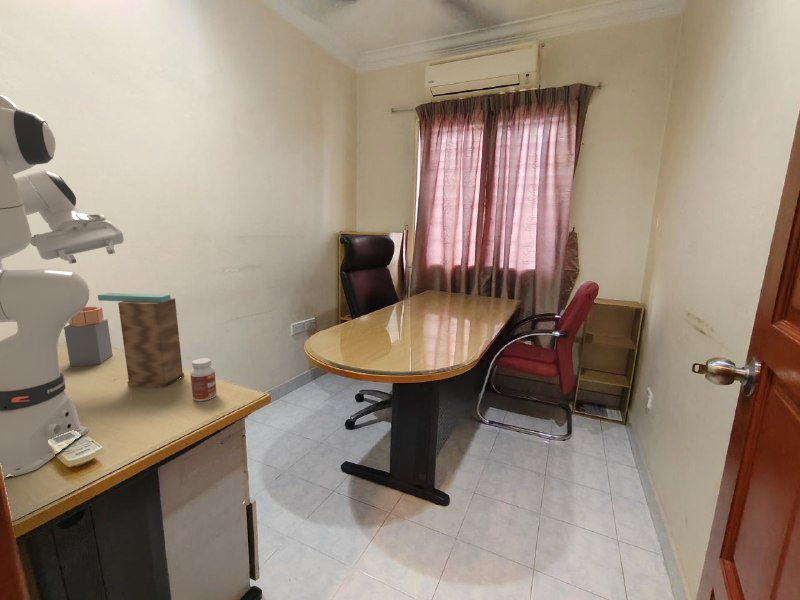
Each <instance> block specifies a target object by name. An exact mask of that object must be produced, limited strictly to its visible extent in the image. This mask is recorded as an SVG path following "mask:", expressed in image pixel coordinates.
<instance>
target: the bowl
mask: <svg viewBox="0 0 800 600" xmlns="http://www.w3.org/2000/svg"><path fill="white" fill-rule="evenodd" d="M103 320H104V314H103V307H102V306H101V307H100V306H85V307H84V309H83V310H82V311H81V312H79V313H78V314H76V315H75V316H74V317H73V318H71V319H70V320H69V321H68V322H67V324H68V323H69V325H70V326H74V327H80V326H90V325H95V324H99V323H102V322H103Z"/></svg>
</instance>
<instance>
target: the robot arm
mask: <svg viewBox="0 0 800 600" xmlns="http://www.w3.org/2000/svg"><path fill="white" fill-rule="evenodd" d="M56 146H57V145H56V140H55V136H54V133H53V132H52V129H51V128H50V126H49V125H48V123H47V121H46V120H44V119H43V118H42V117H40V116H39V115H38V114H36V113H34V112H30V111H27V110H24V109H20V108H19V107H18V106H17V105H16V104H15V103H14V102H13V101H12V100H11V99H9V98H8V97H6V96H4V95H2V94H1V93H0V323H9V322H13V323H16V325H17V332H16V333H14V334H12V335H9V336H8V337H5V338H4V339H1V340H0V463H1V465H2V472H3V476H4V479H7V478H6V476H7V475H8V474H11V475H15V476H14V477H17V476H20V475H24V474H27V473H31V472H33V471H36V470H38V469H40V468H41V467H42V466H44V465H45V464H46V463H48V462H49V461H50V460H52V459H53V458H54V457H56V456H55V452H54V450H53V449H52V447H51V446H50V445H49V444H48V440H49V439H52V438H54V437H56V436H59V435H61V434H64V433H66V432H69V431H72V430H74V431H77V432H79V434H81V435H83V436H85V435H86V434H87V433H88V427H86V426H84V425H81V424H82V423H81V420H80V418H79V414H78V411H77V407H76V404H75V401H74V400H73V399H72V398H71V397H70V396H69V395H68V394H67V393H66V391H65V390H66V389H67V388H66V379H65V378H64V374H63V373H62V372H61V369H60V368H61V367H60V363H59V352H58V351H59V350H58V349H59V348H58V346H59V345H58V344H59V338H60V335H61V333H62V330H64V327H65V326H67V324H68V321H69V320H70V319H71V318H73V317H74V316H75V315H76V314H78V313H79V312H81V311H82V310H83V309H84V307H87V304H88V301H89V299H90V289H89V287H88V284H87V282H86V281H85V279H84V278H83V277H82V276H80V275H79V274H78V273H76V272H74V271H69V270H60V269H49V268H46V269H45V268H42V269H41V268H40V269H39V268H38V269H5V268H4V267H3V264H2V260H3V259H6V258H8V257H11V256H14V255H15V254H18V253H20V252H22V251H24V250H25V249H27V247H28V246H29V245H30V244H31V246H33V247H35V248H36V249H37V252H38V254H39V256H40V257H41V259H43V260H46V261H49V260H53V259H58V258H60V259H61V260H64V261H68V263H69V264H70V265H72V264H76V263H77V259H76V257H75V256H74V255H76V254H79V253H85V252H90V251H93V250H96V249H97V250H98V249H102V248H105V249H106V253H107V254H108V255H109V256H110V255H114V254H116V251H115V249H114V248H115V247H114V246H115V245H120V244H123V242H124V234H123V232H122V230H120V228H119V227H118V226H117V225H115V224H114V223H113V222H112V221H109V220H107V219H106V216H105V215H104V214H100V213H99V214H93V213H92V214H90V213H89V214H87V213H80V212H79V209H78V207H76V205H77V197H76V194H75V193H74V191H73V190H72V189H71V188H70V187H69V186H68V185H67V183H66V182H65V181H64V179H63V178H62V177H61V176H60V175H59V174H56V173H55V172H52V171H48V170H40V171H37V172H34V173H29V174H25V175H22V176H19V177H15V176H14V175H16V174H18V173H22V172H24V171H27V170H29V169H31V168H32V167H35V166H36V165H42V164H45V165H46V164H48V163H50V162H51V161H52V159H54V155H55V150H56ZM37 213H39V214H40V216H41V217H42V219H43V220H44V221H45V223H47V224H48V227H49V229H50V231H47V232H44V233H39V234H34V235H33V236H32V232H31V228H30V224H29V220H28V216H29V215H32V214H37Z"/></svg>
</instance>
